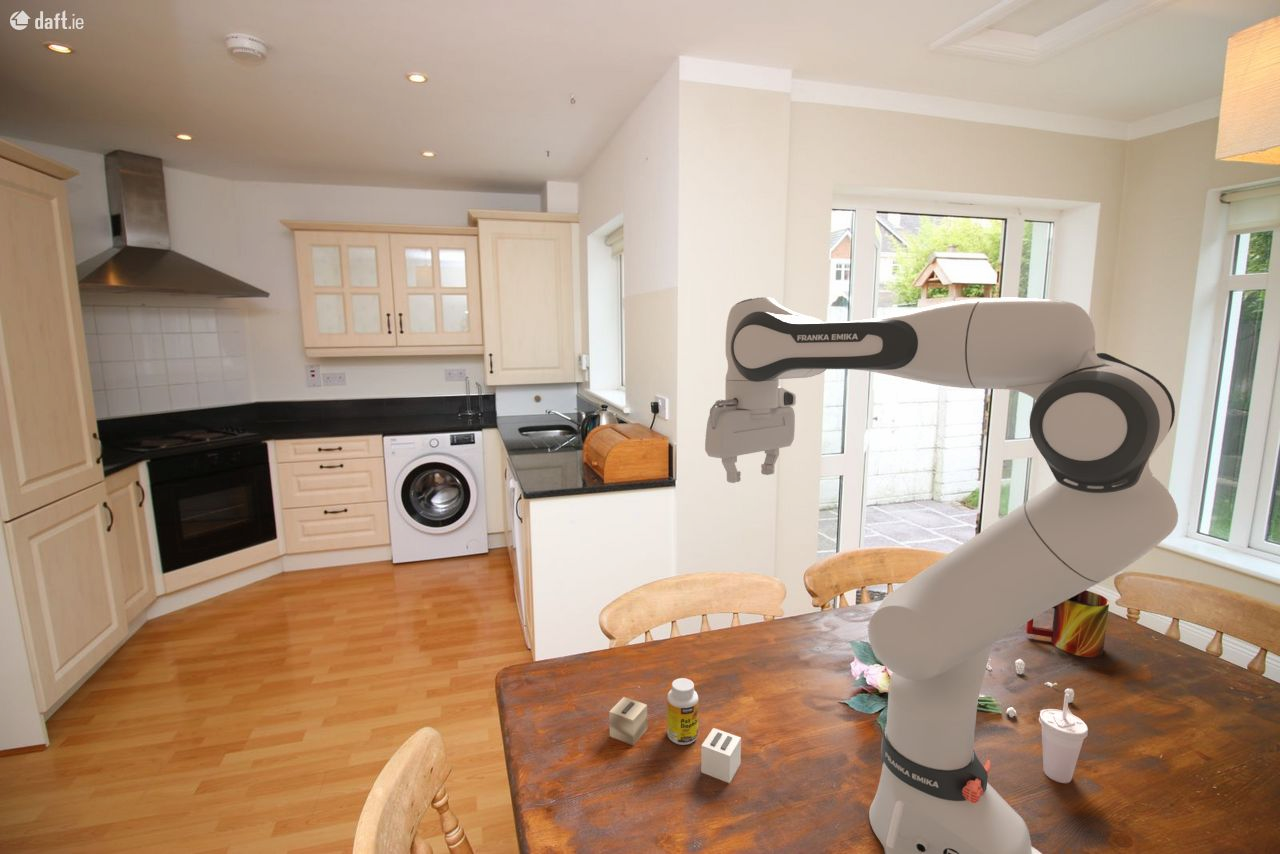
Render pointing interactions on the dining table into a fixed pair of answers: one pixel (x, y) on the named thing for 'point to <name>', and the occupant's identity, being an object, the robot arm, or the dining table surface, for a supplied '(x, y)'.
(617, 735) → the marked birch block
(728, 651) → the dining table surface
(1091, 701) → the dining table surface
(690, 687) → the supplement bottle
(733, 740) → the marked off-white block
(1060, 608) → the mug
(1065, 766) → the smoothie
